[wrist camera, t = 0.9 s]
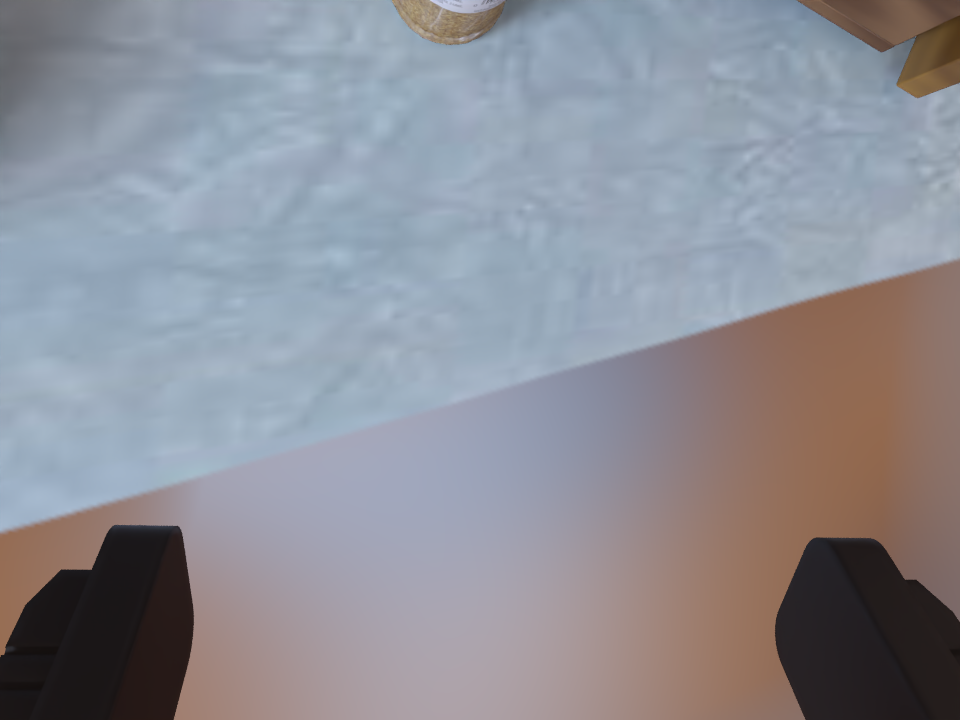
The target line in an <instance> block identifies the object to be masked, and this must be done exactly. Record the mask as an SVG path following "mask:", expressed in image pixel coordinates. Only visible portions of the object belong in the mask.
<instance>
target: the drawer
mask: <svg viewBox="0 0 960 720" xmlns="http://www.w3.org/2000/svg"><path fill="white" fill-rule="evenodd" d="M797 1H798V2H800V3H802V4H803V5H805V6H806V7H808V8H810V9H811V10H813V11H815V12H816V13H818V14H819V15H821V16H823V17H824V18H826V19H828V20H829V21H831V22H833V23H834V24H836V25H837V26H839V27H841V28H842V29H844V30H846V31H847V32H849V33H850V34H852V35H854V36H855V37H857V38H859V39H860V40H862V41H863V42H865V43H867V44H868V45H870V46H872V47H873V48H875V49H876V50H878V51H880V52H884V51H886V50H888V49H890V48H892V47H894V46H895V45H898V44H900V43H902V42H904V41H907V40H909V39H911V38H913V37H915V36H917V37H916V39H915V42H914V44H913V46H912V49H911V51H910V53H909V56H908V58H907V61H906V63H905V65H904V68H903V70H902V72H901V75H900V77H899V79H898V82H897V86H898V87H899V88H901V89H903V90H904V91H906V92H908V93H909V94H911V95H913V96H914V97H916V98H920V97H922V96H925V95H928V94H930V93H933V92H936V91H938V90H941V89H944V88H947V87H949V86H952V85H955V84H957V83H960V0H797Z"/></svg>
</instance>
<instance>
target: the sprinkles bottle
mask: <svg viewBox="0 0 960 720" xmlns="http://www.w3.org/2000/svg"><path fill="white" fill-rule="evenodd" d="M505 1H506V0H392V2H393V4H394V5H395V7H396V9H397V10H398V12H399V15H400V16H401V18H402V19H403V20H404V21H405V23H406V24H407V25H408V26H409V27H410V28H411V29H412V30H413V31H414V32H416V33H417V34H419V35H420V36H421V37H422V38H425V39H428V40H430V41H433V42H435V43H442V44H446V45H453V44H464V43H468V42H471V41H472V40H474V39H477V38H479V37H480V36H482V35H483V34H484V33H485V32H487V31H489V30H490V29H491V28H492V26H493V25H494V24H495V22H496V21H497V19H498V18H499V16H500V15H501V13H502V10H503V7H504V4H505Z"/></svg>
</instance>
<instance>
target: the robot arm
mask: <svg viewBox="0 0 960 720" xmlns="http://www.w3.org/2000/svg"><path fill="white" fill-rule="evenodd" d="M193 614H194V613H193V603H192V596H191V589H190V583H189V576H188V569H187V562H186V556H185V549H184V543H183V536H182V532H181V529H180V528H179V527H178V526H146V525H144V526H143V525H114V526H112V528H111V529H110V530H109V531H108V533H107V535H106V537H105V539H104V542H103V544H102V546H101V549H100V551H99V554H98V556H97V558H96V561H95V563H94V565H93V568H92V570H60V571H59V572H58V573H57V574H56V575H55V576H54V577H53V578H52V579H51V580H50V581H49V582H48V583H47V584H46V585H45V586H44V587H43V588H42V589H41V590H40V591H39V592H38V593H37V594H36V595H35V596H34V597H33V598H32V599H31V600H30V601H29V602H28V603H27V604H26V605H25V607H24V609H23V611H22V613H21V615H20V618H19V620H18V622H17V624H16V626H15V628H14V630H13V632H12V634H11V636H10V638H9V640H8V642H7V644H6V647H5V648H6V651H5V654H4V655H1V657H0V720H174V716H175V712H176V708H177V704H178V701H179V697H180V693H181V689H182V685H183V681H184V677H185V674H186V670H187V666H188V661H189V658H190V652H191V646H192V639H193V638H192V637H193V625H194V615H193ZM775 637H776V646H777V651H778V655H779V658H780V661H781V664H782V666H783V668H784V671H785V673H786V675H787V678H788V680H789V682H790V685H791V687H792V689H793V692H794V694H795V696H796V699H797V701H798V703H799V705H800V708H801V710H802V713H803V715H804V717H805V719H806V720H960V622H959V620H958V619H957V617H956V616H955V615H954V613H953V612H952V611H951V610H950V609H949V608H948V607H947V606H945V605H944V604H943V603H942V602H941V601H940V600H939V599H938V598H936V597H935V596H934V595H933V594H932V593H931V592H930V591H928V590H927V589H926V588H925V587H924V586H923V585H922V584H921V583H919V582H918V581H917V580H905V579H904V578H903V576H902V575H901V573H900V571H899V570H898V568H897V567H896V565H895V564H894V562H893V560H892V559H891V557H890V556H889V554H888V553H887V551H886V550H885V548H884V547H883V546H882V545H881V544H880V543H879V542H878V541H876V540H874V539H871V538H814V539H812V540H811V541H810V542H809V543H808V544H807V546H806V548H805V550H804V552H803V555H802V557H801V559H800V562H799V564H798V567H797V569H796V571H795V573H794V576H793V578H792V581H791V583H790V585H789V587H788V590H787V592H786V595H785V597H784V599H783V601H782V604H781V606H780V608H779V611H778V614H777V618H776V625H775Z"/></svg>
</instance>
